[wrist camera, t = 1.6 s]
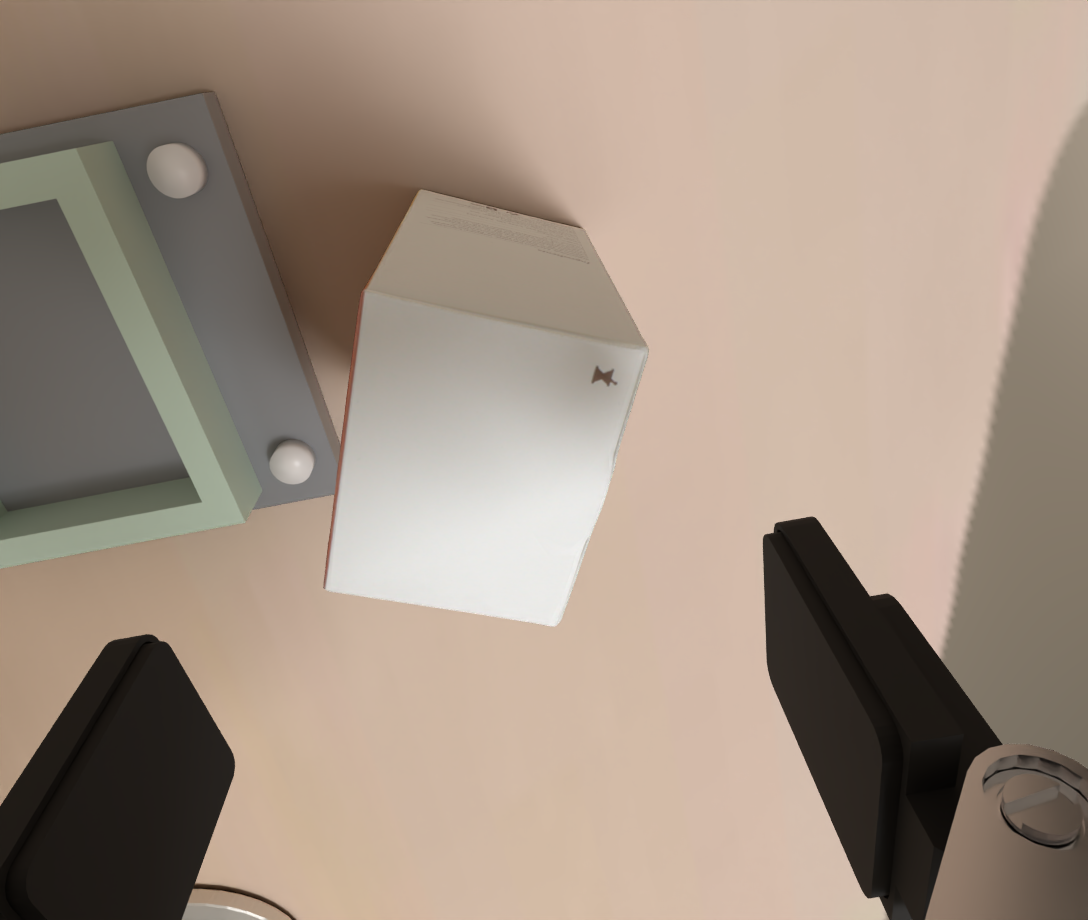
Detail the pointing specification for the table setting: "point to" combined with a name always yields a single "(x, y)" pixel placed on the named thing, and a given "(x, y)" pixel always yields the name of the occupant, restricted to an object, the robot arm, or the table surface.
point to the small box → (480, 414)
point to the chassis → (144, 339)
